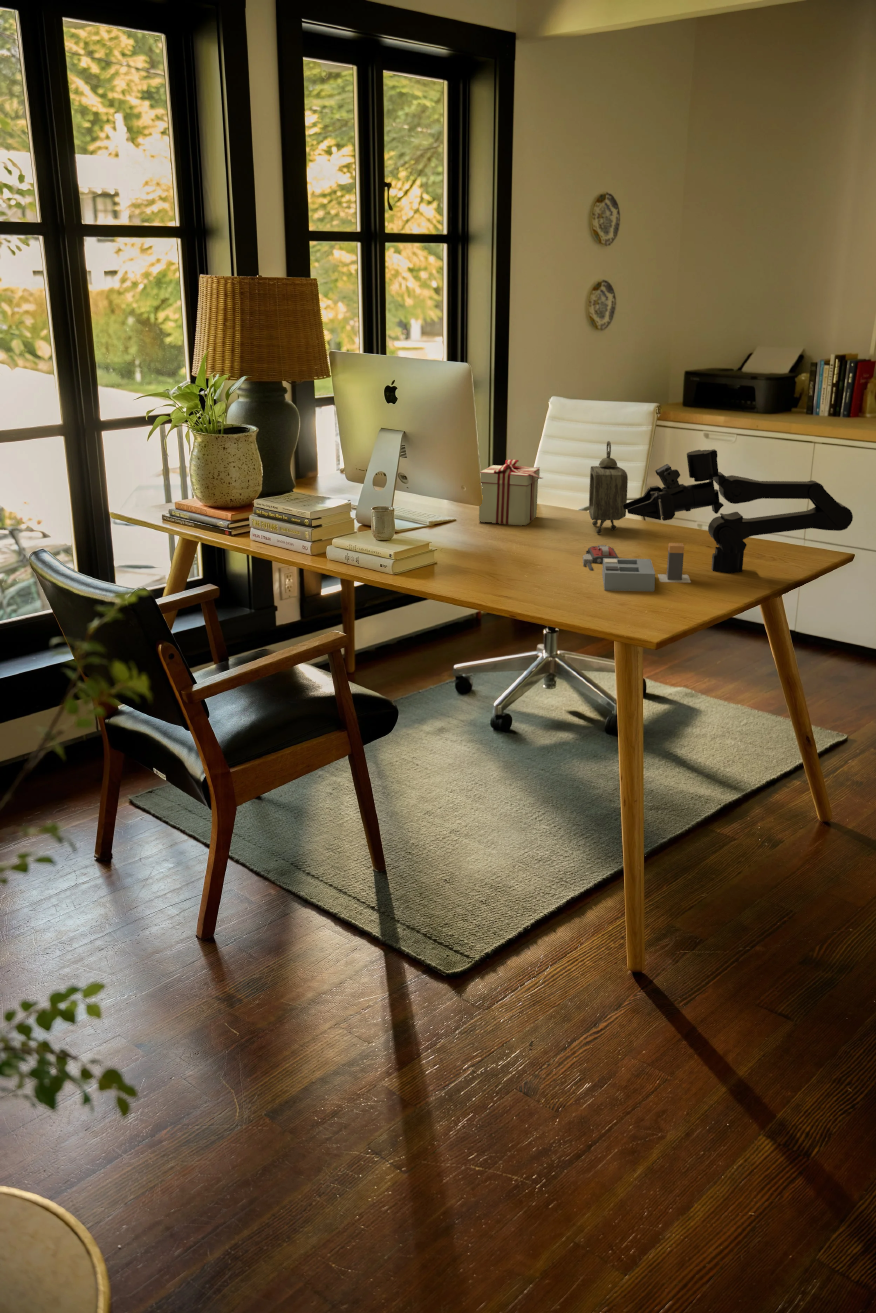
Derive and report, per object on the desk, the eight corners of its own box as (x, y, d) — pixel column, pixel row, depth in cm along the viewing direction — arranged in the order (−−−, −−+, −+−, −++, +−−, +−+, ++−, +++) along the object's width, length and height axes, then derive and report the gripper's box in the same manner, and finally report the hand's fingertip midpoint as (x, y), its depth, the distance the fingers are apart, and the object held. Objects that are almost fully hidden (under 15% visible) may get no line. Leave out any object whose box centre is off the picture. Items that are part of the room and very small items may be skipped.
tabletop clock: (588, 525, 314) (591, 437, 306) (619, 525, 314) (623, 437, 306) (592, 535, 301) (596, 444, 293) (625, 535, 300) (630, 444, 292)
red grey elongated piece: (578, 556, 279) (587, 576, 260) (579, 540, 277) (587, 558, 258) (612, 556, 279) (623, 576, 260) (613, 540, 277) (624, 558, 258)
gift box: (539, 526, 313) (541, 467, 307) (477, 524, 317) (477, 465, 311) (548, 515, 328) (549, 458, 323) (488, 513, 332) (488, 456, 327)
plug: (680, 576, 253) (682, 543, 251) (681, 580, 250) (684, 546, 248) (666, 576, 254) (668, 542, 251) (667, 579, 251) (669, 545, 248)
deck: (687, 578, 255) (687, 574, 255) (690, 586, 249) (691, 582, 248) (657, 578, 256) (657, 574, 256) (659, 585, 249) (660, 581, 249)
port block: (649, 579, 255) (650, 557, 253) (653, 595, 242) (655, 572, 240) (602, 578, 256) (603, 556, 254) (604, 594, 243) (605, 571, 241)
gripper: (680, 459, 261) (616, 471, 262) (694, 465, 243) (624, 478, 244) (686, 505, 263) (622, 517, 265) (700, 514, 245) (631, 526, 247)
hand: (625, 508), depth 255 cm, fingers open, 9 cm apart
